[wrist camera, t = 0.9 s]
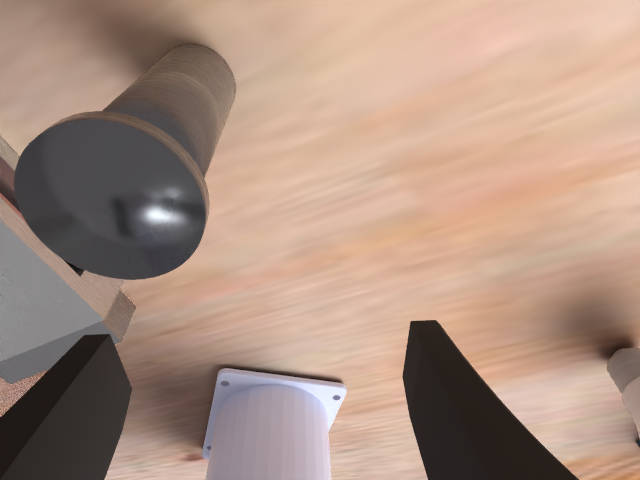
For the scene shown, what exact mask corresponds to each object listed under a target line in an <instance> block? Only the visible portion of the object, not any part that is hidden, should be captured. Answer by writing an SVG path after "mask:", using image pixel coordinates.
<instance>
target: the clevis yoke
mask: <svg viewBox="0 0 640 480" xmlns="http://www.w3.org/2000/svg"><path fill="white" fill-rule="evenodd" d="M19 158H20V157H19V156H18V155H17V154H16V153H15V152H14V151H13V150H12V149H11V148H10V146H9V145H8V144H7V143H6V142H5V141H4V140H3V139H2V138H1V137H0V193H1V194H2V195H3V196H4V197H5V198H6V199H7V200H8V201H9V202H10V203H11V204H12V205H13V206H14V207H15V208H16V209H17V210H18V211H19V212H20V209H19V207H18V204H17V201H16V196H15V191H14V175H15V169H16V166H17V163H18V160H19ZM20 213H21V212H20ZM124 280H125V279H116V278H109V277H105V276H100V275H97V274H94V273H91V272H88V271H86V270H83V269H81V268H78V267H76V266H74V265H72V264H71V263H69V262H67V261H65V260H64V259H62V258H61V257H59V256H58V255H56V254H55V253H54V252H52V251H51V250H50V249H49V248H48V247H47V246H45V245H44V244H43V243H42V242H41V241H40V240H39V239H38V237H37V236H36V235H35V234H34V233H33V232H32V230H31V229H30V227H29V226H28V225H27V223H26V222H25V221H24V220H23V219H22V218H21V217H20V216H19V215H18V214H17V213H16V212H15V211H14V210H13V209H12V208H11V207H10V206H9V205H8V204H7V203H6V202H5V201H4V200H3V199H2V198H1V197H0V377H1V378H3V379H4V380H6V381H7V382H8V383H10V384H12V383H15V382H17V381H20V380H22V379H25V378H28V377H30V376H33V375H35V374H38V373H41V372H43V371H46V370H48V369H50V368H51V367H52V366H53V365H54V364H55V363H56V362H57V361H58V360H59V359H60V358H61V357H62V356H63V355H64V354H65V353H66V352H67V351H68V350H69V349H70V348H71V347H72V346H73V345H74V344H75V343H76V342H77V341H78V340H79V339H80V338H81V337H83V336H84V335H94V334H110V335H111V337H112V340H113V342H114V344H115V343H118V342H121V341H122V338H123V336H124V334H125V331H126V329H127V327H128V324H129V322H130V320H131V317H132V315H133V313H134V311H135V308H136V307H135V306H134V305H133V304H132V303H131V302H130V301H129V300H128V299H127V298H126V297H125V296H124V295H123V293H122V292H121V291H120V288H121V286H122V284H123V282H124Z"/></svg>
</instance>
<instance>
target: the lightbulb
mask: <svg viewBox="0 0 640 480" xmlns="http://www.w3.org/2000/svg"><path fill="white" fill-rule="evenodd" d="M607 371H608V372H609V374H610V376H611V378H612V379H613V380H614V382H615V384H616V386H617V387H618V388H619V390H620V392H621V393H622V400H623V403H624V404H625V406H626V408H627V409H628V411H629V412H630V414H631V416H632V418H633V421H634V423H635V425H636V427H637V431H638V435H639V439H640V348H622V349H619V350H617V351H616V352H614V354H613V356H612V357H611V358H610V359H609V361H608V363H607Z"/></svg>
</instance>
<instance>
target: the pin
mask: <svg viewBox="0 0 640 480" xmlns="http://www.w3.org/2000/svg"><path fill="white" fill-rule="evenodd" d="M235 92H236V85H235V79H234V76H233V73H232V71H231V69H230V67H229V66H228V64H227V63H226V62H225V60H224V59H223V58H222V57H221V56H220V55H219V54H217V53H216V52H214V51H213V50H211V49H209V48H207V47H204V46H201V45H196V44H185V45H181V46H178V47H176V48H174V49H172V50H171V51H169V52H168V53H167V54H166V55H165V56H164V57H162V58H161V59H160V60H159V61H158V62H157V63H156V64H155V65H153V66H152V67H151V68H150V69H149V70H148V71H147V72H146V73H144V74H143V75H142V76H141V77H140V78H139V79H138V80H136V81H135V82H134V83H133V84H132V85H131V86H130V87H129V88H127V89H126V90H125V91H124V92H123V93H122V94H121V95H120V96H118V97H117V98H116V99H115V100H114V101H113V102H112V103H111V104H109V105H108V106H107V107H106V108H105V109H104V110H103V111H94V112H84V113H79V114H75V115H72V116H69V117H66V118H64V119H62V120H60V121H58V122H57V123H55V124H53V125H52V126H50V127H49V128H48V129H47V130H45V131H44V132H43V133H41V134H40V135H39V136H37V137H36V138H35V139H34V140H33V141H32V142H30V143H29V145H28V146H27V147H26V148H25V150H24V151H23V152H22V154H21V156H20V158H19V160H18V163H17V166H16V169H15V175H14V191H15V196H16V201H17V204H18V207H19V209H20V212H21V214H22V216H23V218H24V220H25V221H26V223H27V225H28V226H29V227H30V229H31V230H32V232H33V233H34V234H35V235H36V236H37V237H38V239H39V240H40V241H41V242H42V243H43V244H44V245H45V246H47V247H48V248H49V249H50V250H51V251H52V252H54V253H55V254H56V255H58V256H59V257H61V258H62V259H64V260H65V261H67V262H69V263H71V264H72V265H74V266H76V267H78V268H81V269H83V270H86V271H88V272H91V273H94V274H97V275H100V276H105V277H109V278H116V279H127V280H136V279H147V278H152V277H156V276H159V275H163V274H165V273H168V272H170V271H172V270H174V269H176V268H177V267H179V266H180V265H182V264H183V263H184V262H185V261H186V260H188V259H189V258H190V256H191V255H192V254H193V253H194V252H195V250H196V248H197V247H198V245H199V243H200V241H201V238H202V235H203V232H204V229H205V226H206V223H207V219H208V214H209V194H208V190H207V186H206V182H205V180H204V178H205V175H206V172H207V170H208V167H209V164H210V162H211V159H212V157H213V154H214V151H215V149H216V146H217V143H218V141H219V138H220V136H221V133H222V130H223V128H224V125H225V122H226V120H227V117H228V115H229V112H230V109H231V107H232V104H233V101H234V98H235Z"/></svg>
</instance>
